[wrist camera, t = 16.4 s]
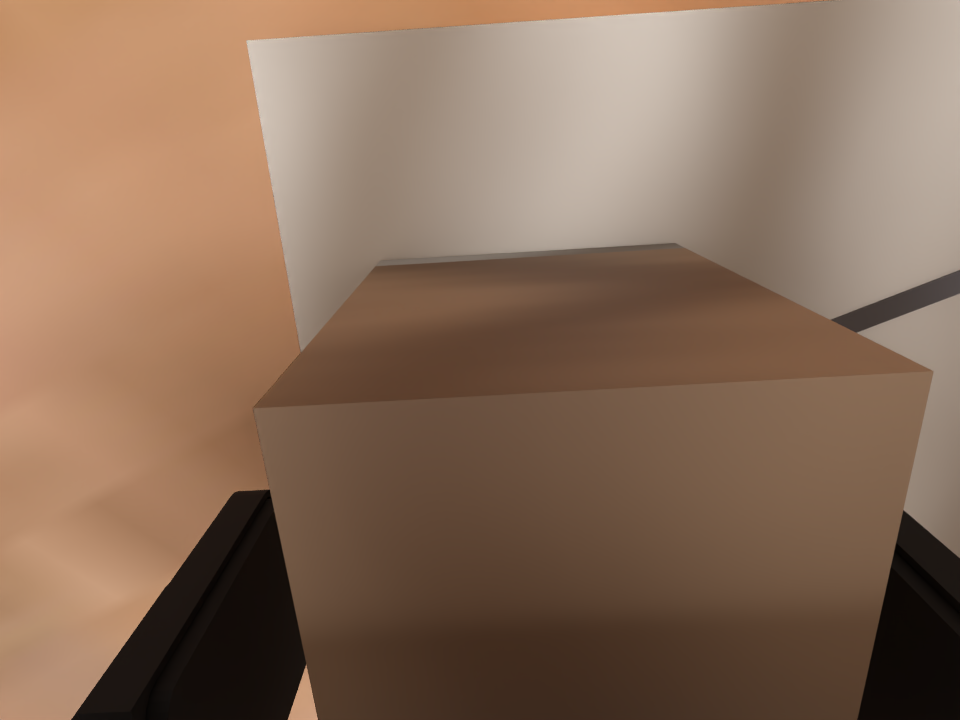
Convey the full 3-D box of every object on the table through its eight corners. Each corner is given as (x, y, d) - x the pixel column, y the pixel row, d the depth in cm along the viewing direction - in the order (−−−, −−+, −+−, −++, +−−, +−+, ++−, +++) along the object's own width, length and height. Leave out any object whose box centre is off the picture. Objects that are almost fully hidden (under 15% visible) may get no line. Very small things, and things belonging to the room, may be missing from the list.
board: (1177, -2, 10) (1335, -35, 9) (973, 675, 16) (1042, 748, 14) (287, 59, 11) (245, 39, 9) (386, 702, 16) (374, 777, 14)
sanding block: (675, 243, 10) (933, 372, 4) (652, 652, 13) (786, 1040, 7) (380, 260, 10) (253, 408, 4) (427, 663, 13) (388, 1054, 7)
